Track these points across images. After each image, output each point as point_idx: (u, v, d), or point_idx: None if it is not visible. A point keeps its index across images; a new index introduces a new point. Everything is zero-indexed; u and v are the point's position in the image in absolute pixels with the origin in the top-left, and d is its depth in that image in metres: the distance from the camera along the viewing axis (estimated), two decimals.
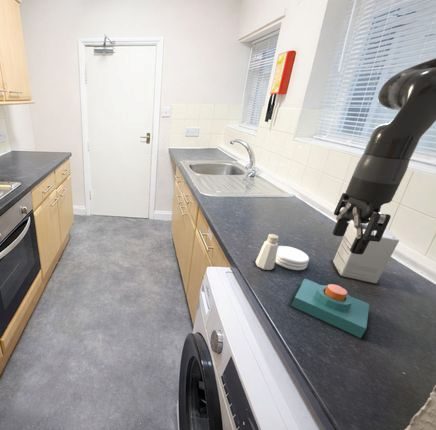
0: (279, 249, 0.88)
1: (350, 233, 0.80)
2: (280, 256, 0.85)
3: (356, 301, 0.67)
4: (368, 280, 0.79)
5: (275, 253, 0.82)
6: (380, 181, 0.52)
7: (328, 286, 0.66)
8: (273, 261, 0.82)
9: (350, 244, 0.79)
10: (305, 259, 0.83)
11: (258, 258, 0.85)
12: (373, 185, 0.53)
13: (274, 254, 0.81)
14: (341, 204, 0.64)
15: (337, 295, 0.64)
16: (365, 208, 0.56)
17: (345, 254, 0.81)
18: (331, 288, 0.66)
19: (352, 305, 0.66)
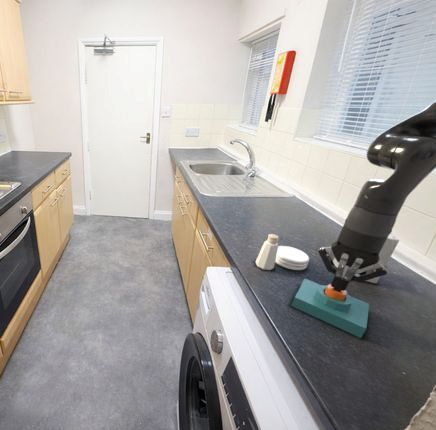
0: (279, 249, 0.88)
1: None
2: (280, 256, 0.85)
3: (356, 301, 0.67)
4: (368, 280, 0.79)
5: (275, 253, 0.82)
6: (388, 234, 0.55)
7: (328, 286, 0.66)
8: (273, 261, 0.82)
9: None
10: (305, 259, 0.83)
11: (258, 258, 0.85)
12: (384, 239, 0.55)
13: (274, 254, 0.81)
14: (328, 259, 0.64)
15: (337, 295, 0.64)
16: (371, 258, 0.58)
17: None
18: (330, 288, 0.66)
19: (352, 305, 0.66)
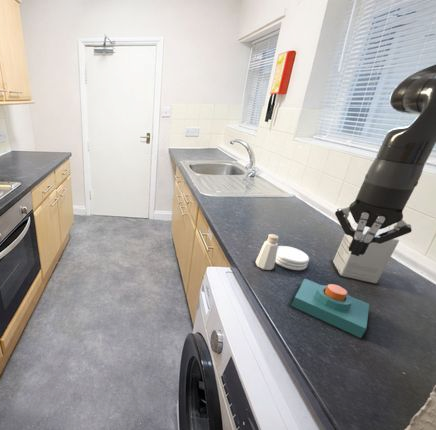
0: (279, 249, 0.88)
1: None
2: (280, 256, 0.85)
3: (356, 301, 0.67)
4: (368, 280, 0.79)
5: (275, 253, 0.82)
6: (414, 187, 0.51)
7: (328, 286, 0.66)
8: (273, 261, 0.82)
9: None
10: (305, 259, 0.83)
11: (258, 258, 0.85)
12: (409, 192, 0.51)
13: (274, 254, 0.81)
14: (346, 221, 0.60)
15: (337, 295, 0.64)
16: (394, 215, 0.54)
17: (345, 254, 0.81)
18: (331, 288, 0.66)
19: (352, 305, 0.66)
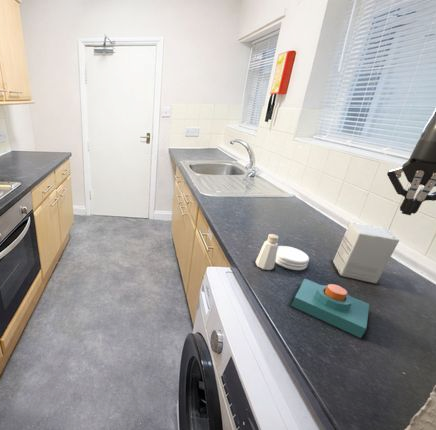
0: (279, 249, 0.88)
1: (350, 233, 0.80)
2: (280, 256, 0.85)
3: (356, 301, 0.67)
4: (368, 280, 0.79)
5: (275, 253, 0.82)
6: None
7: (328, 286, 0.66)
8: (273, 261, 0.82)
9: (350, 244, 0.79)
10: (305, 259, 0.83)
11: (258, 258, 0.85)
12: None
13: (274, 254, 0.81)
14: (398, 181, 0.62)
15: (337, 295, 0.64)
16: None
17: (345, 254, 0.81)
18: (331, 288, 0.66)
19: (352, 305, 0.66)
